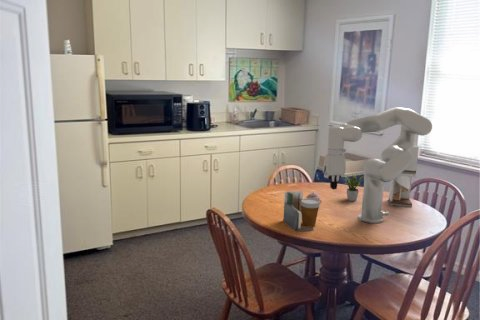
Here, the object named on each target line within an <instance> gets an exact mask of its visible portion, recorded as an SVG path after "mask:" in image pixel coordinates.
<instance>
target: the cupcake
mask: <svg viewBox="0 0 480 320" xmlns="http://www.w3.org/2000/svg"><path fill="white" fill-rule="evenodd" d="M305 199H315V200H318V201H319V204H320V205H321V204H322V202H323V201H322V199H321V196H320V195H319V194H318V193H317V192H315V191H314V190H313V191H312V193H311V192H310V193H309V194H308V195H307V196H306V198H305ZM319 208H320V207H319ZM319 208H318V210H319Z"/></svg>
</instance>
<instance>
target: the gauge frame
mask: <svg viewBox="0 0 480 320" xmlns="http://www.w3.org/2000/svg"><path fill="white" fill-rule="evenodd" d="M290 193H292V206H291V205H290ZM303 193H304V191H303V190H295V191H284V198H283V201H284V202H283V219H282V221H284V223H285V224H286V225H287V226H288V227H290V228H291V229H292V230H293V231H294V232H296V231H297V232H309V231H314V226H313V227H300V228H297V212H298V211H300V212H301V204H300V202H301V200H302V199H304V198H303V197H304V196H303V195H304V194H303ZM295 208H296V209H295ZM301 216H302V212H301Z"/></svg>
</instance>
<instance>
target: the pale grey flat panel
mask: <svg viewBox="0 0 480 320" xmlns="http://www.w3.org/2000/svg"><path fill="white" fill-rule="evenodd" d="M290 205H291V206H292V193H290ZM295 209H296V208H295ZM301 223H302V215H301V212H300V211H298V212H297V229H298V228H302V227H301Z"/></svg>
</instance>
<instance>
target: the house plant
mask: <svg viewBox="0 0 480 320" xmlns="http://www.w3.org/2000/svg"><path fill="white" fill-rule="evenodd" d="M351 174H352V178H350V177H349V176H348V175H347V174H346V173H345V176H344V178H345V179H346V180H347V182H345V183H343V185H346V186H347V188H346V198H347V200H348V201H349V202H350V201H351V202H356V201H357V199H358V196H359V192H360V189H358V187H360V184H361V182H362V181H363V182H364V179H363V178H364V175H363V176H360V177H359V178H358V179H357V176H358V175H357V173H355V174H353V173H351ZM361 186H362V187H364V184H361Z"/></svg>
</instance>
